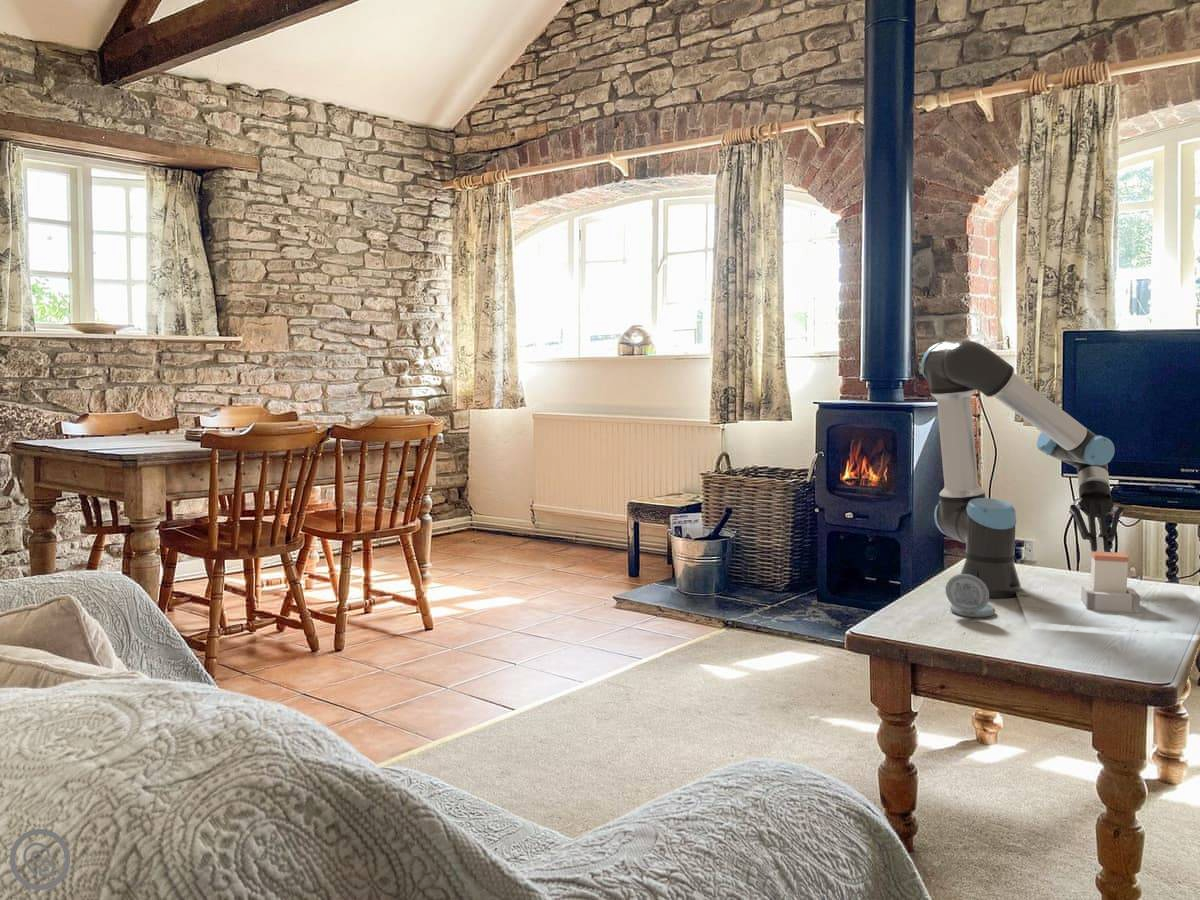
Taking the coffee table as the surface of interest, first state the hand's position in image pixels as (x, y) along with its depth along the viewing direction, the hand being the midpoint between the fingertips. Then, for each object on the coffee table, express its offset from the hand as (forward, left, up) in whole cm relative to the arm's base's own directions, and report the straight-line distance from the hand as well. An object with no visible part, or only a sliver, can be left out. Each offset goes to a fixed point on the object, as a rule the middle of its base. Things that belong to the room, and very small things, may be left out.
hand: (1100, 561), depth 251 cm
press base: (-3, -13, -9) cm, 16 cm away
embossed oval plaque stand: (-36, -22, -9) cm, 43 cm away
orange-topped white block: (-3, -14, -7) cm, 16 cm away
